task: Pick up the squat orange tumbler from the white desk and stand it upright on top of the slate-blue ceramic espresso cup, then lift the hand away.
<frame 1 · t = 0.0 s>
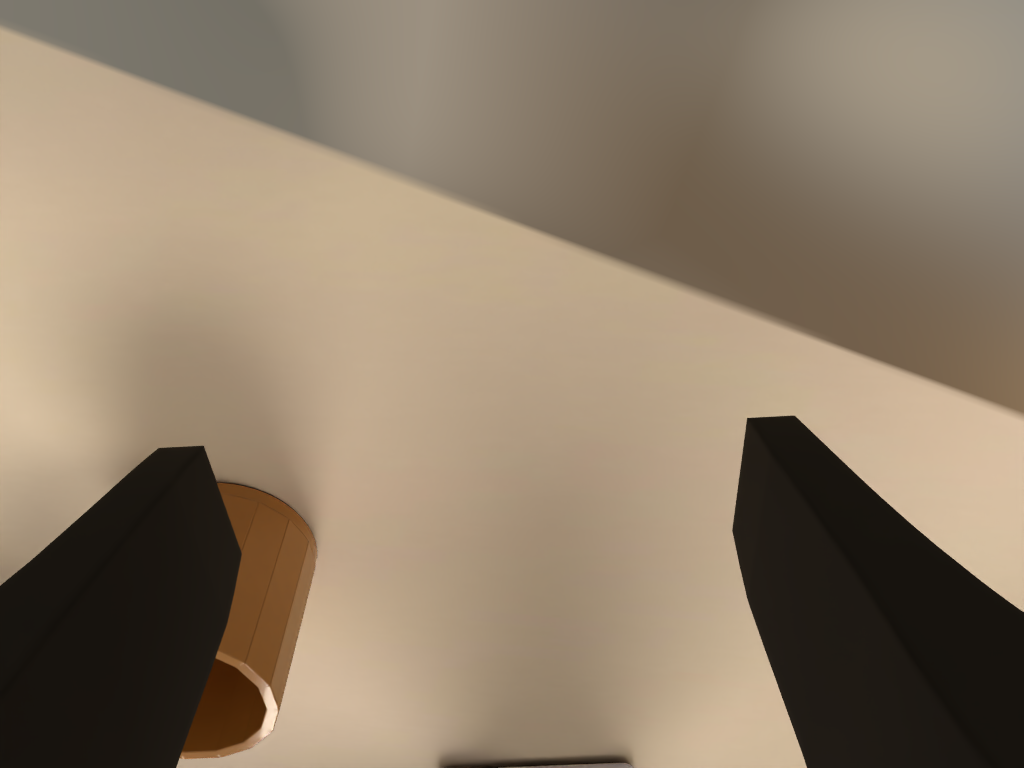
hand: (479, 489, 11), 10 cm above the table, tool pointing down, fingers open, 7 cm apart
orange tumbler: (232, 544, 26), on the table
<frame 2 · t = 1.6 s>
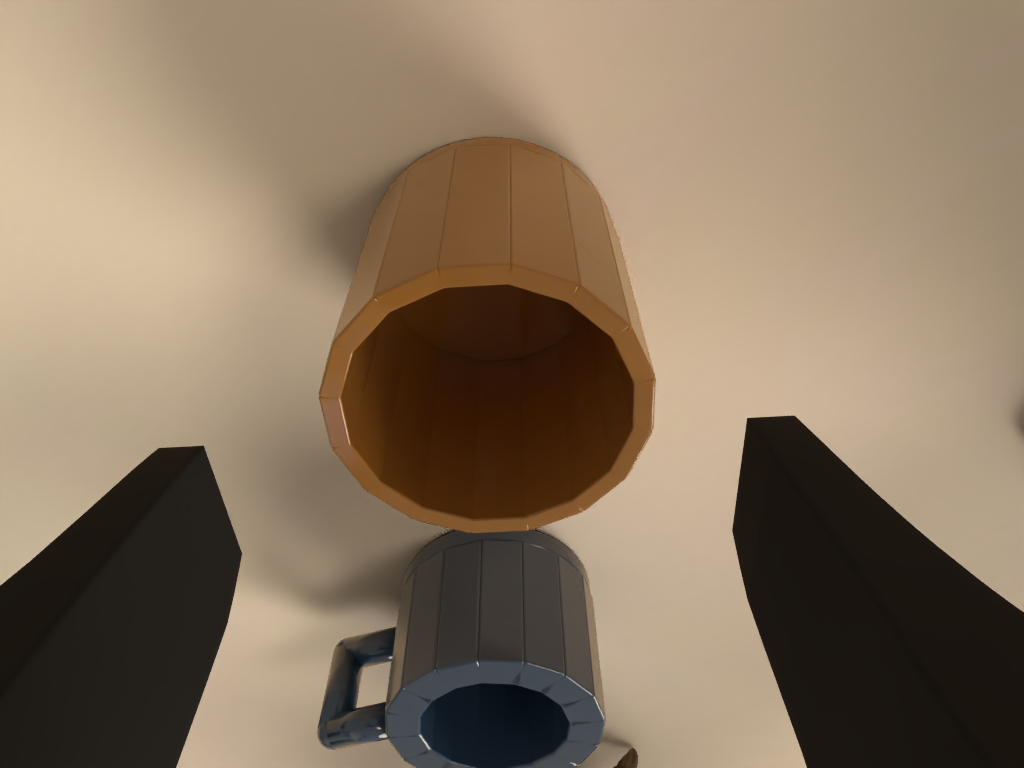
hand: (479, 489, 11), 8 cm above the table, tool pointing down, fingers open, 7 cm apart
cup: (496, 590, 24), on the table
orange tumbler: (493, 258, 18), on the table
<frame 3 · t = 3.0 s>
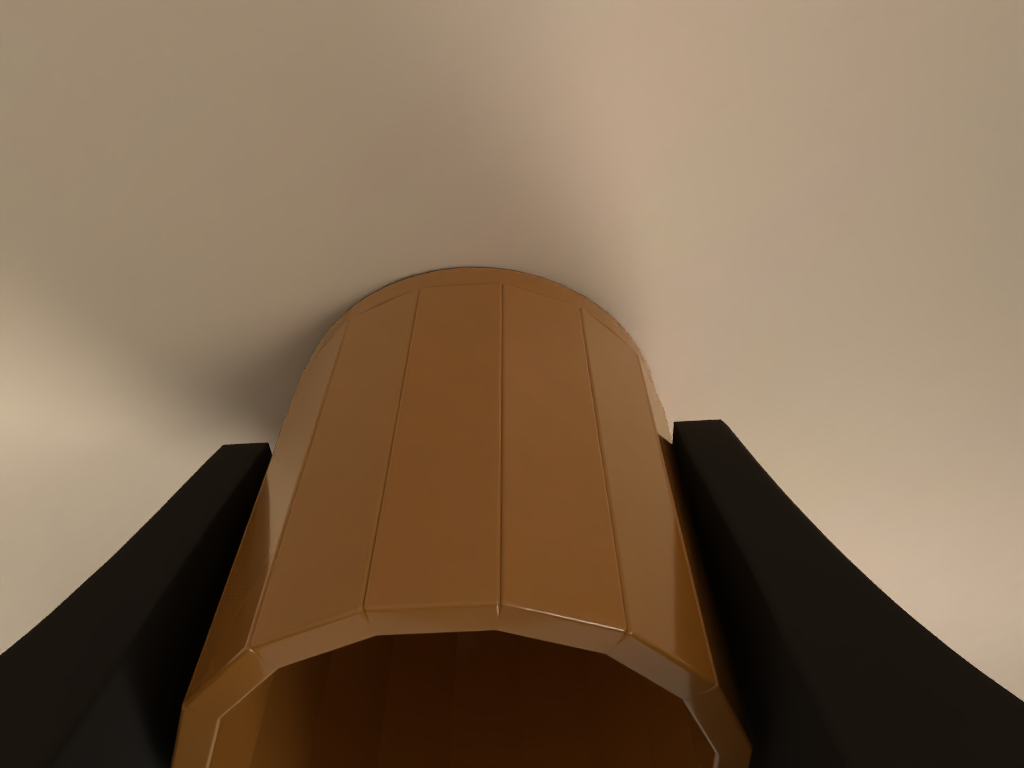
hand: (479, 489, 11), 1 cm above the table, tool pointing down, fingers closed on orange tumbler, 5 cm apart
orange tumbler: (479, 425, 12), on the table, touching gripper
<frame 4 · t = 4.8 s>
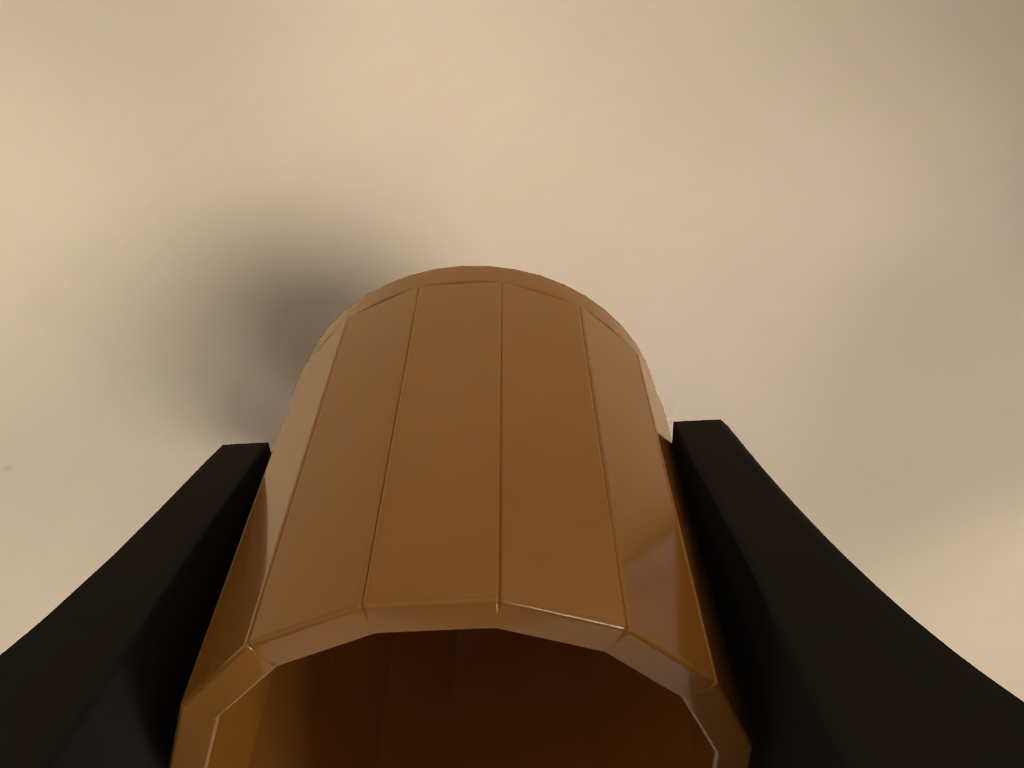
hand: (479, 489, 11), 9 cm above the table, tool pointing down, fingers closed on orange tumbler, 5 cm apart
orange tumbler: (478, 423, 12), point 7 cm above the table, touching gripper
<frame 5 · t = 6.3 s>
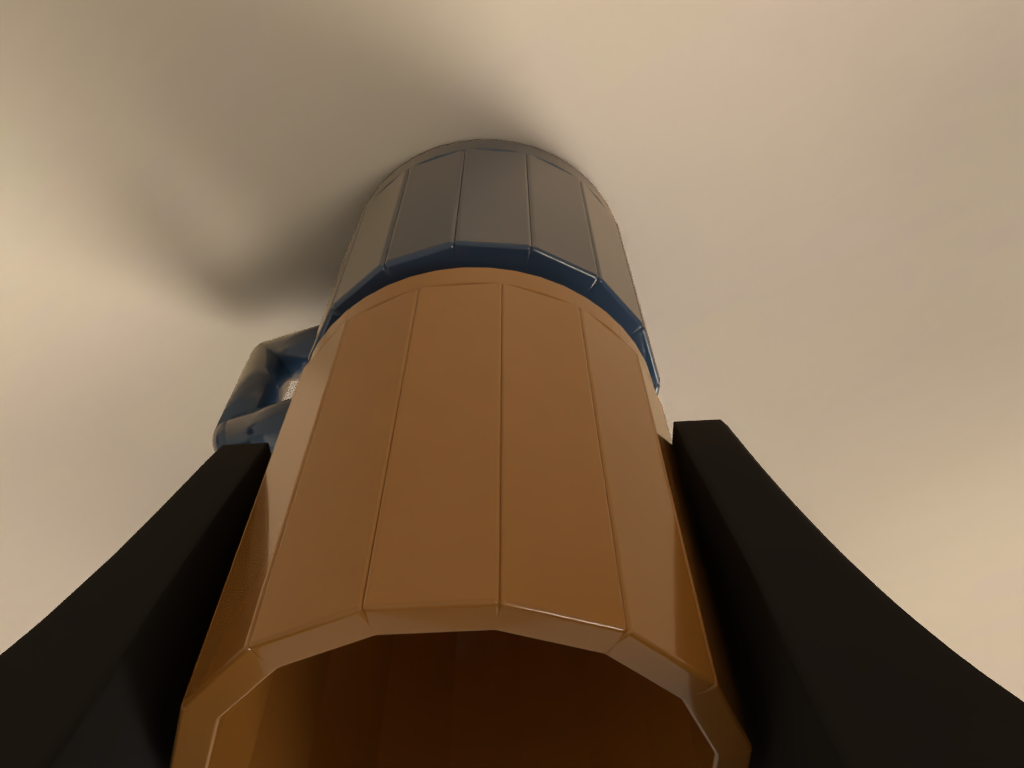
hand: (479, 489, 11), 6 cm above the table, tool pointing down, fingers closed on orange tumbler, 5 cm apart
cup: (488, 272, 16), on the table
orange tumbler: (478, 425, 12), point 5 cm above the table, touching gripper
when the fingers open (6 cm above the table, at t = 7.0 s): orange tumbler stays where it is, resting on cup.
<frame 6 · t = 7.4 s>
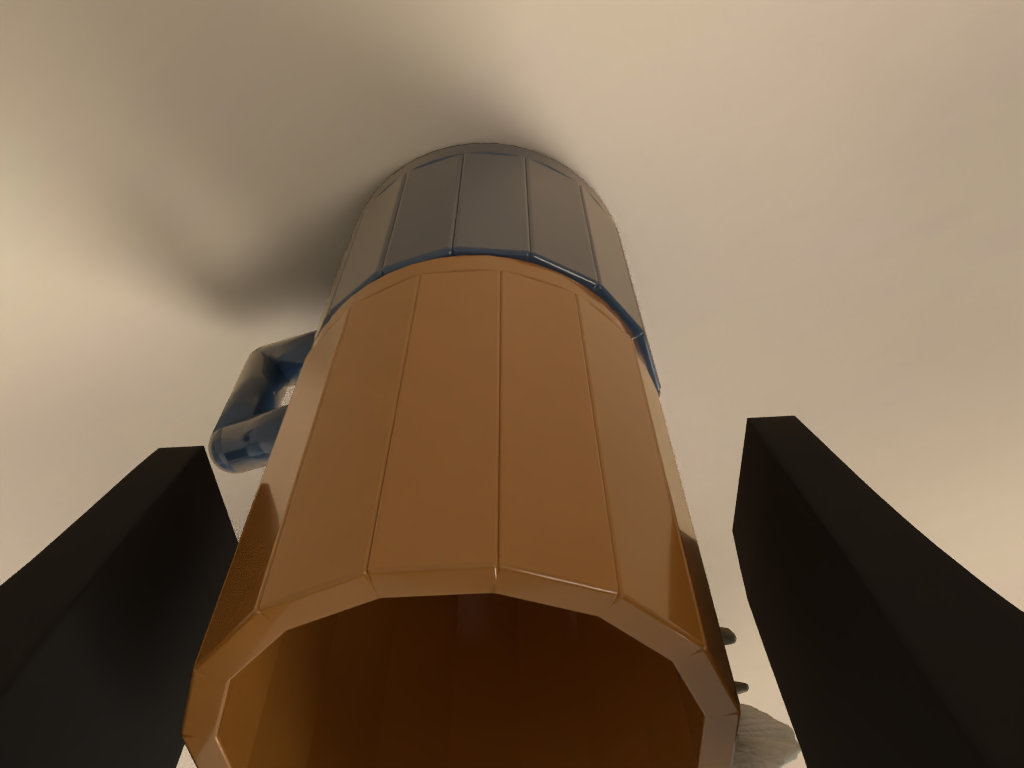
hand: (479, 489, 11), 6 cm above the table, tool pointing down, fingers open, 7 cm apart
cup: (486, 276, 16), on the table, touching orange tumbler
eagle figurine: (571, 636, 23), on the table
orange tumbler: (478, 410, 13), point 4 cm above the table, touching cup
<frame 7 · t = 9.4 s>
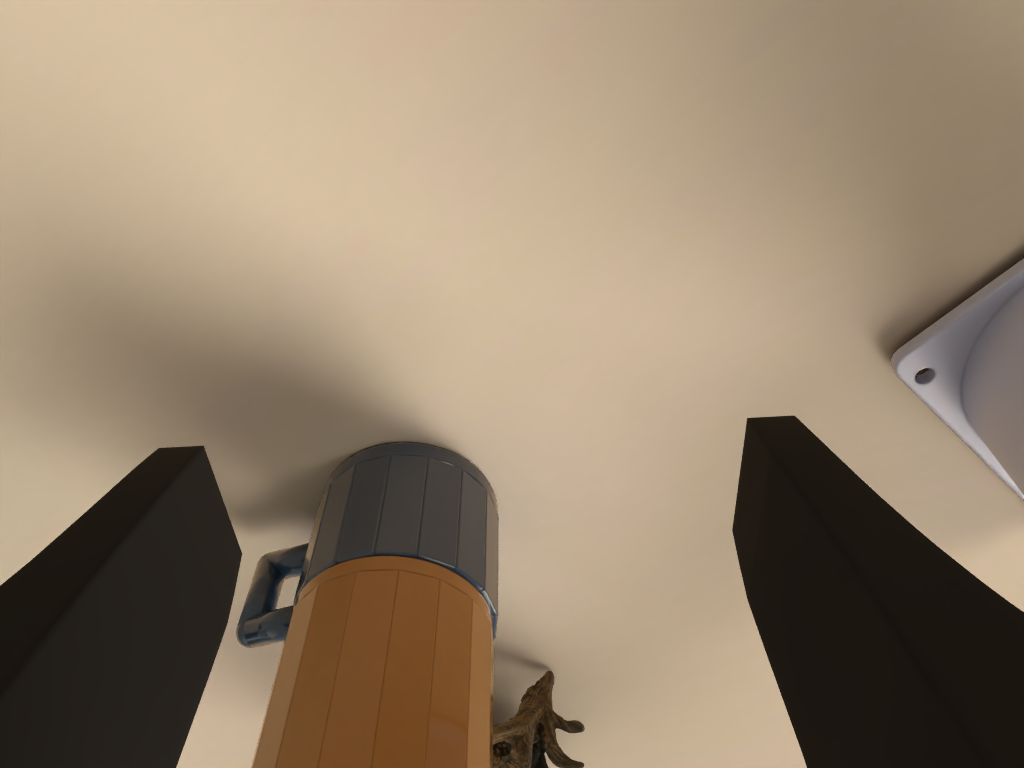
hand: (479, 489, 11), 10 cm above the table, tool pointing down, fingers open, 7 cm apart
cup: (410, 508, 25), on the table, touching orange tumbler
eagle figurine: (483, 715, 32), on the table
orange tumbler: (393, 623, 22), point 4 cm above the table, touching cup
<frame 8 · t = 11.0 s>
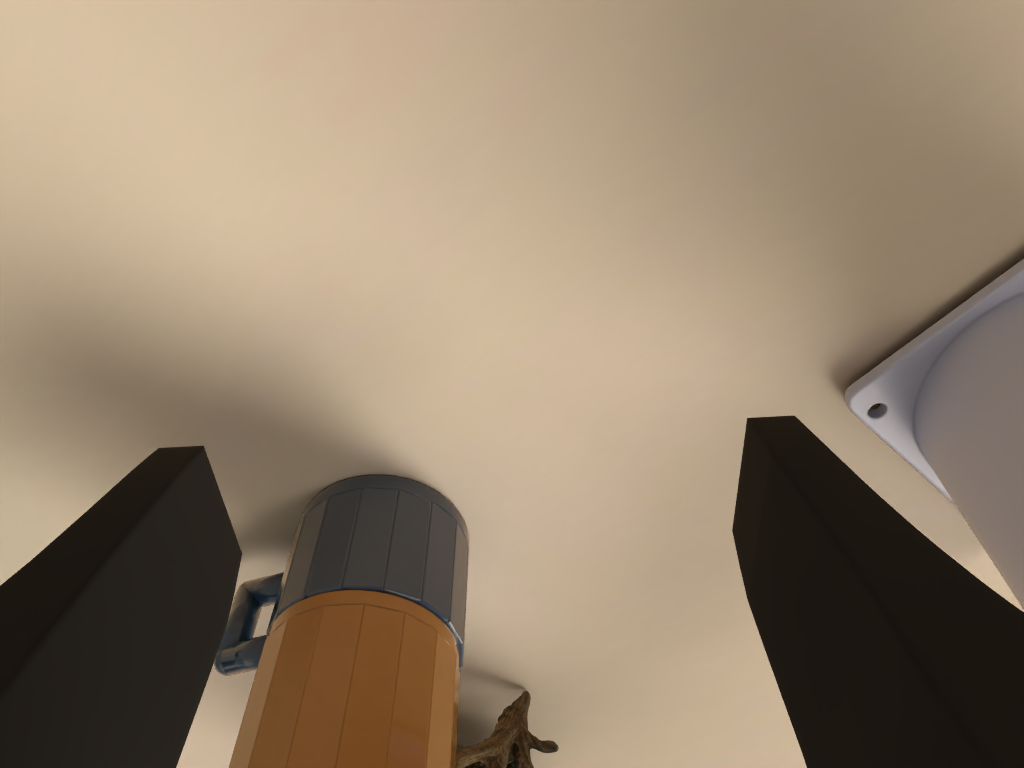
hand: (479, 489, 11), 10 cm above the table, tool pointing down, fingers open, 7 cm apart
cup: (384, 537, 26), on the table, touching orange tumbler
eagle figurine: (463, 734, 33), on the table
orange tumbler: (363, 653, 23), point 4 cm above the table, touching cup
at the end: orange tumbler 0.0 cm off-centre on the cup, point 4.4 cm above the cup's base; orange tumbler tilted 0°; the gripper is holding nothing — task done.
